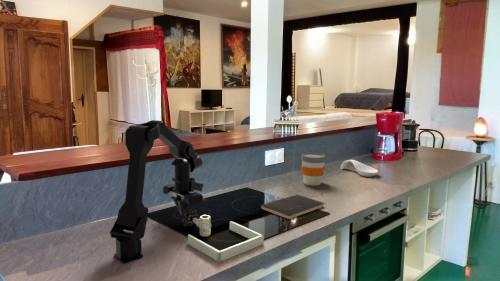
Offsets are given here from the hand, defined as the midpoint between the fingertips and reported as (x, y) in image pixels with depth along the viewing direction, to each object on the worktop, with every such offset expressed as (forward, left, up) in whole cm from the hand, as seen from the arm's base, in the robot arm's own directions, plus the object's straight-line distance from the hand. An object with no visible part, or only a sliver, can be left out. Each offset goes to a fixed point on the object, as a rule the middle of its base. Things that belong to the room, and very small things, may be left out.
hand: (182, 215), depth 142 cm
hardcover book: (+44, -17, -3) cm, 47 cm away
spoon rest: (+119, -3, -3) cm, 119 cm away
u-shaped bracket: (0, -25, -2) cm, 26 cm away
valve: (0, -11, -3) cm, 11 cm away
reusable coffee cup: (+81, +1, -3) cm, 81 cm away
